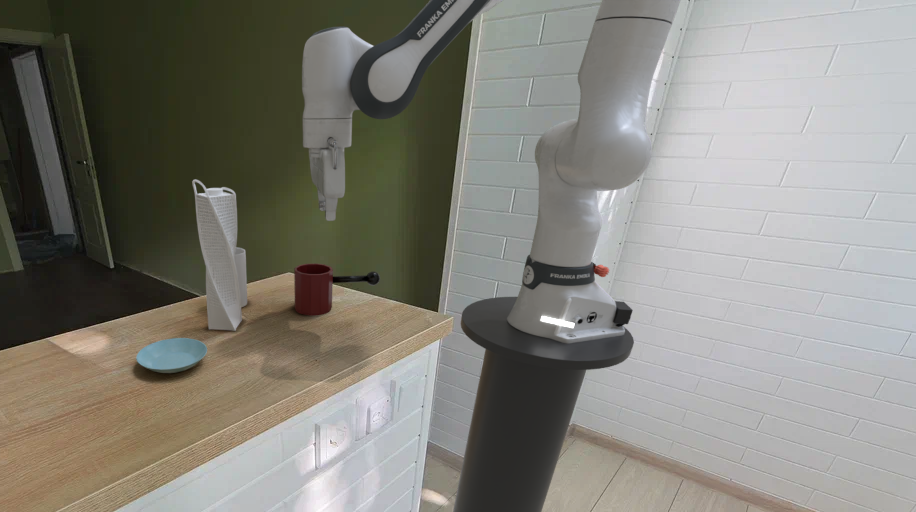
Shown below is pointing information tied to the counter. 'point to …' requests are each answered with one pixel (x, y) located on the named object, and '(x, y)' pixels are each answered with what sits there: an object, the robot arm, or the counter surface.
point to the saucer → (172, 355)
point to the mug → (241, 274)
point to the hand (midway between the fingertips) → (326, 215)
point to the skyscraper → (219, 255)
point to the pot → (321, 287)
